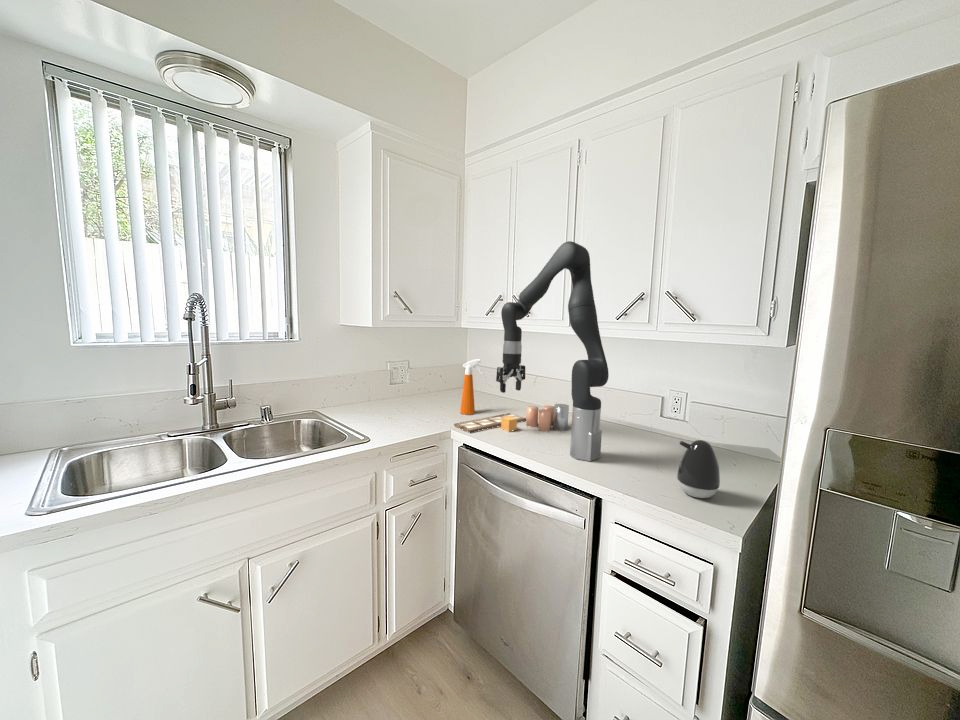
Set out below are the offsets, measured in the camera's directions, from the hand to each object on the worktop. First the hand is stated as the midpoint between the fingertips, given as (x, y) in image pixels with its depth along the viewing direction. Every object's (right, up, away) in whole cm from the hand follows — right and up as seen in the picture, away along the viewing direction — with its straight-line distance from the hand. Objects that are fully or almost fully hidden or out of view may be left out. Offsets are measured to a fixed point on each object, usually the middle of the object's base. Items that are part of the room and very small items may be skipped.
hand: (510, 391), depth 160 cm
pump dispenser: (+47, -24, -53) cm, 75 cm away
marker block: (-1, -16, +2) cm, 16 cm away
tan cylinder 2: (+17, -16, +11) cm, 26 cm away
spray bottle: (-17, -13, +27) cm, 34 cm away
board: (-8, -15, +10) cm, 20 cm away
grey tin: (+22, -16, +6) cm, 28 cm away
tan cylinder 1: (+10, -16, +9) cm, 21 cm away
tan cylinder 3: (+14, -16, +4) cm, 22 cm away
